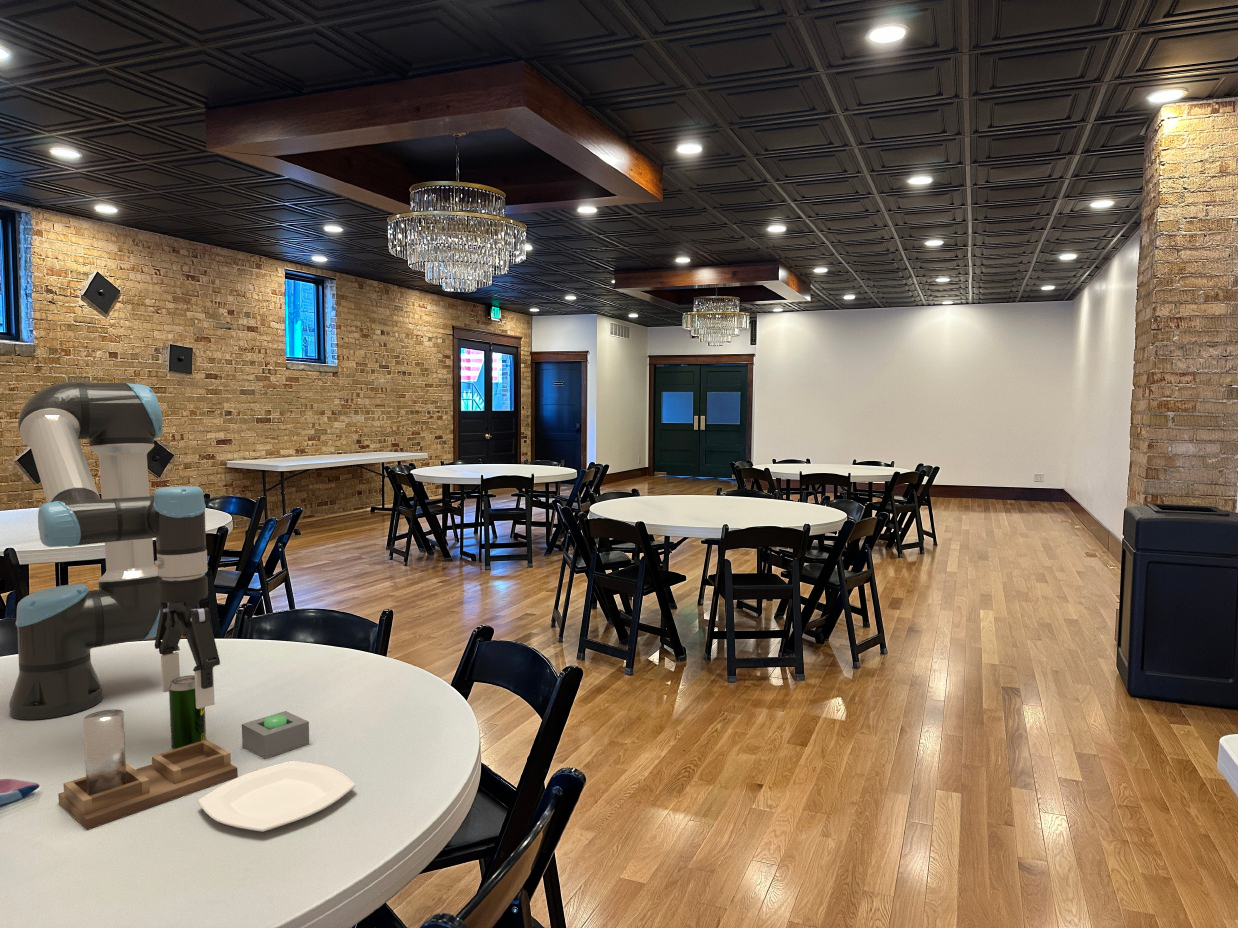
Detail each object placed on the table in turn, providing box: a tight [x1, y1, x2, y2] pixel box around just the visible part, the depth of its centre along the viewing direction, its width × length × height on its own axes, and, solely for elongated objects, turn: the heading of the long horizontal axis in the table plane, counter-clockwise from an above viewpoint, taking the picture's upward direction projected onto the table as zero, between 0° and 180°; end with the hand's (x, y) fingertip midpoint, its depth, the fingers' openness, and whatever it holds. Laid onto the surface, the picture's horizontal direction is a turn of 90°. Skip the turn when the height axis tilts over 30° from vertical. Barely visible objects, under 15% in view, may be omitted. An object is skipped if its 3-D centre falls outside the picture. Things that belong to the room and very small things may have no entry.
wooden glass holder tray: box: [57, 738, 239, 831], centre depth 123 cm, size 12×21×4 cm, turn 141°
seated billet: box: [82, 708, 127, 796], centre depth 118 cm, size 5×5×12 cm
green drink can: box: [168, 674, 207, 750], centre depth 139 cm, size 5×5×12 cm
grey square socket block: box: [241, 710, 310, 760], centre depth 140 cm, size 8×8×4 cm
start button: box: [264, 713, 287, 730], centre depth 139 cm, size 4×4×3 cm
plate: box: [197, 760, 357, 832], centre depth 119 cm, size 19×19×2 cm
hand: (187, 697), depth 138 cm, fingers open, 13 cm apart
